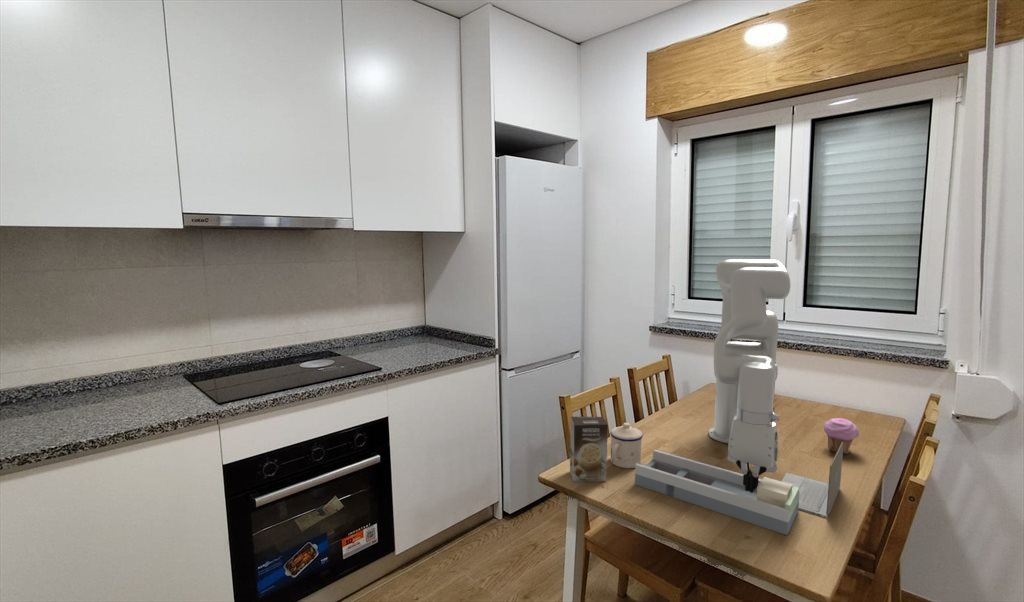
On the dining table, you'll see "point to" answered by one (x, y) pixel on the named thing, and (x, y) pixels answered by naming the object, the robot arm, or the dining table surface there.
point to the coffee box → (588, 449)
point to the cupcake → (840, 433)
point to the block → (773, 492)
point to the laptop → (818, 488)
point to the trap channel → (714, 490)
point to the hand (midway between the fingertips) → (750, 489)
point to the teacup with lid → (626, 446)
